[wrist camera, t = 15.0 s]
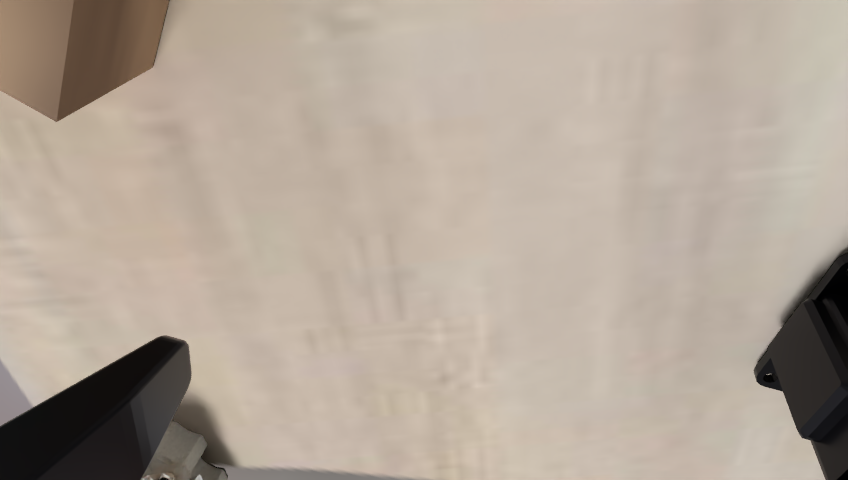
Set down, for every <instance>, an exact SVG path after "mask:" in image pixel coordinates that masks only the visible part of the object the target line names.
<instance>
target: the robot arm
mask: <svg viewBox="0 0 848 480" xmlns="http://www.w3.org/2000/svg"><path fill="white" fill-rule="evenodd" d="M847 269H848V254H845V255H842V256H840V257H839V258H838V259H837V260H836V261H835V262H834V264H833V265H832V266H831V268H830V269H829V270H828V271H827V273H826V274H825V275H824V277H823V278H822V279H821V281H820V282H819V283H818V285H817V286H816V287H815V289H814V290H813V291H812V293H811V294H810V295H809V297H808V298H807V299H806V300H805V301H803V302H802V303H801V304H800V305H799V306H798V308H797V309H796V310H795V312H794V313H793V314H792V316H791V317H790V318H789V320H788V321H787V322H786V324H785V325H784V326H783V328H782V329H781V330H780V332H779V333H778V334H777V335H776V337H775V338H774V339H773V341H772V342H771V343H770V345H769V346H768V351H767V352H766V353H765V355H764V356H763V357H762V359H761V360H760V361H759V362H758V364H757V365H756V366H755V368H754V374H755V378H756V381H757V382H758V383H759V384H760V385H762V386H765V387H769V388H772V389H776V390H780V391H783V393H784V395H785V398H786V401H787V404H788V406H789V409H790V412H791V414H792V417H793V420H794V423H795V425H796V428H797V430H798V432H799V434H800V436H801V437H802V438H804V439H808V440H811V443H812V445H813V448H814V450H815V453H816V456H817V458H818V461H819V464H820V466H821V469H822V471H823V474H824V477H825V479H826V480H848V270H847ZM769 373H772V374H770V375H766V374H769ZM190 380H191V364H190V354H189V346H188V344H187V343H186V341H184V340H181V339H177V338H174V337H170V336H160V337H157V338H155V339H154V340H152V341H150V342H148V343H147V344H145V345H143V346H141V347H139V348H138V349H136V350H134V351H132V352H131V353H129V354H127V355H125V356H124V357H122V358H120V359H118V360H116V361H115V362H113V363H111V364H109V365H108V366H106V367H104V368H102V369H100V370H99V371H97V372H95V373H93V374H92V375H90V376H88V377H86V378H85V379H83V380H81V381H79V382H77V383H76V384H74V385H72V386H70V387H69V388H67V389H65V390H63V391H62V392H60V393H58V394H56V395H54V396H53V397H51V398H49V399H47V400H46V401H44V402H42V403H40V404H38V405H37V406H35V407H33V408H31V409H30V410H28V411H26V412H24V413H23V414H21V415H19V416H17V417H15V418H14V419H12V420H10V421H8V422H7V423H5V424H3V425H1V426H0V480H141V478H142V476H143V475H144V473H145V471H146V469H147V468H148V466H149V464H150V462H151V460H152V458H153V456H154V454H155V452H156V450H157V448H158V446H159V444H160V442H161V440H162V438H163V436H164V434H165V432H166V430H167V428H168V426H169V425H170V423H171V421H172V419H173V417H174V415H175V413H176V411H177V409H178V407H179V405H180V403H181V401H182V399H183V397H184V395H185V393H186V391H187V389H188V387H189V384H190Z"/></svg>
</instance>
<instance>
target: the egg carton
mask: <svg viewBox="0 0 848 480" xmlns="http://www.w3.org/2000/svg"><path fill="white" fill-rule="evenodd" d="M206 447H207V443H206V441H205V439H204V437H203V436H202V435H200V434H197V433H193V432H191V431H188V430H187V429H185V428H183V427H182V426H181V425H180V424H179V423H177V422H173V421H171V423H170V425H169V426H168V428H167V430H166V432H165V434H164V436H163V438H162V440H161V442H160V444H159V446H158V448H157V450H156V452H155V454H154V456H153V458H152V460H151V462H150V464H149V466H148V468H147V469H146V471H145V473H144V475H143V476H142V478H141V480H227V478H228V475H227V473H226V470H225V469H224V468H222V467H216V466H214V465H211V464H207V463H206V462H205V461H203V460H202V458H201V456H202V454H203V452H204V450H205V448H206Z"/></svg>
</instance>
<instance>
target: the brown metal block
mask: <svg viewBox="0 0 848 480" xmlns="http://www.w3.org/2000/svg"><path fill="white" fill-rule="evenodd" d="M168 3H169V0H0V91H2V92H4V93H6V94H8V95H9V96H11V97H13V98H15V99H17V100H18V101H20V102H22V103H24V104H25V105H27V106H29V107H31V108H33V109H34V110H36V111H38V112H40V113H42V114H43V115H45V116H47V117H49V118H50V119H52V120H54V121H56V122H57V121H59V120H61V119H63V118H64V117H66V116H68V115H70V114H71V113H73V112H75V111H77V110H78V109H80V108H82V107H84V106H85V105H87V104H89V103H91V102H93V101H94V100H96V99H98V98H100V97H101V96H103V95H105V94H107V93H108V92H110V91H112V90H114V89H115V88H117V87H119V86H121V85H122V84H124V83H126V82H128V81H129V80H131V79H133V78H135V77H137V76H138V75H140V74H142V73H144V72H145V71H147V70H149V69H151V68H152V67H153V64H154V60H155V56H156V52H157V48H158V44H159V40H160V36H161V32H162V28H163V24H164V20H165V16H166V11H167V7H168Z"/></svg>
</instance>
